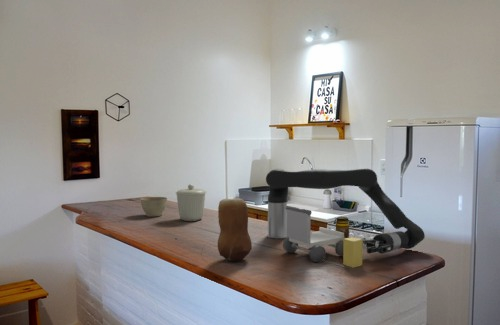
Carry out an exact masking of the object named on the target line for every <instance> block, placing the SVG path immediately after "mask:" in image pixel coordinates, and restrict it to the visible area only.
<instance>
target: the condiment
mask: <svg viewBox="0 0 500 325" xmlns="http://www.w3.org/2000/svg"><path fill="white" fill-rule="evenodd" d="M335 231H338V232H342V233H344V239H345V238H350V223H349V218H348V217H347V216H338V217H336V223H335ZM334 244H335V245H336V244H337V243H334Z"/></svg>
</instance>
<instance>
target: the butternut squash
mask: <svg viewBox="0 0 500 325" xmlns="http://www.w3.org/2000/svg"><path fill="white" fill-rule="evenodd" d="M217 209H218V211H217V212H218V216H217V217H218V225H219V228H220V230H219V231H220V232H219V236H218V239H217V250H218V253H219V256H221V257H223V258H224V259H225V260H227V261H231V262H237V263H238V262H241V261H242V260H245V258H246V257H247V256H248V255H249V254H250V252H251V251H252V245H253V244H252V239H251V236H250V234H249V228H248V227H249V211H248V206H247V203H246V201H245V199H243V198H224V199H221V200H219V203H218V208H217Z"/></svg>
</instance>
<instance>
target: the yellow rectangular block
mask: <svg viewBox="0 0 500 325" xmlns="http://www.w3.org/2000/svg"><path fill="white" fill-rule="evenodd" d="M362 242H363V240H362V238H359V237H358V238H357V237H355V236H351V237H350V236H349V238H345V239H343V260H342V261H343V262H342V264H343V265H344V266H347V267H350V268H358V267H361V265H362V266H363V248H362Z"/></svg>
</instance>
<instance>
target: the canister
mask: <svg viewBox="0 0 500 325" xmlns="http://www.w3.org/2000/svg"><path fill="white" fill-rule="evenodd" d="M206 194H207V191H206V190H204V189H201V188H195V186H194V184H192V183H191V184H188V185H187V188H183V189H178V190H177V191H175V195H176V200H177V207H178V209H177V210H178V215H179V218H180V220H182V221H183V222H196V221H200V220H202V218H203V217H204V210H205V201H206Z"/></svg>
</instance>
